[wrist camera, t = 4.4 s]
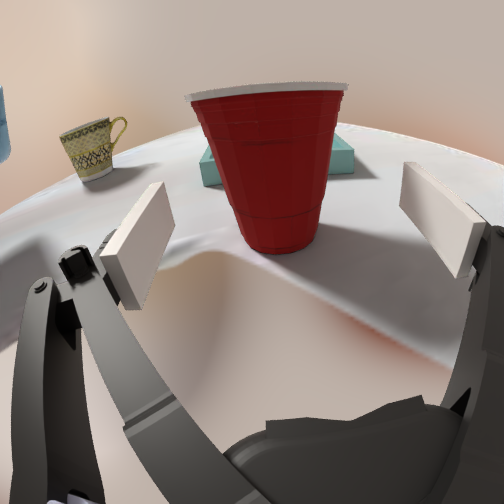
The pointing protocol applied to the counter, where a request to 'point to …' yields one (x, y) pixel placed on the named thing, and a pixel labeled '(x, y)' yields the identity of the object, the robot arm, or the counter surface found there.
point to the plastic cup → (272, 155)
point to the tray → (338, 165)
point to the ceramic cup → (91, 148)
